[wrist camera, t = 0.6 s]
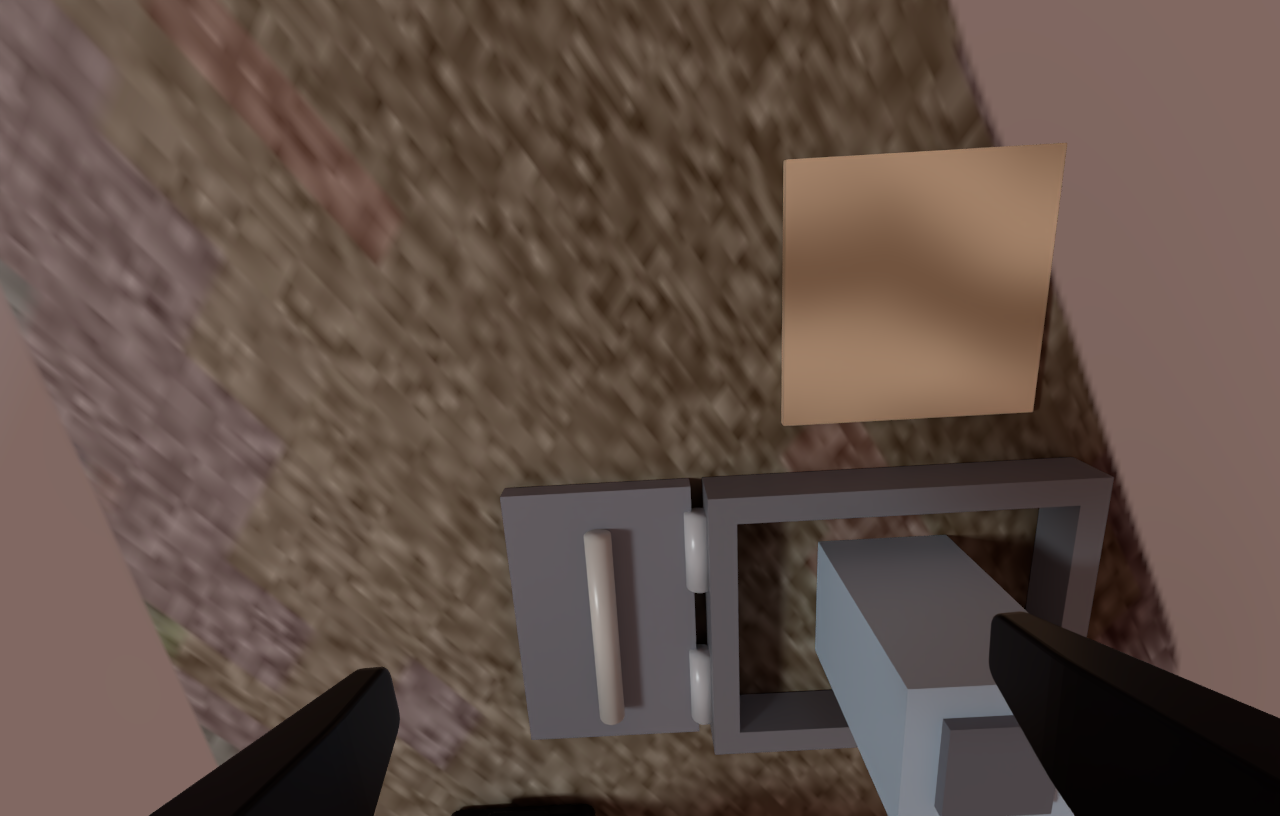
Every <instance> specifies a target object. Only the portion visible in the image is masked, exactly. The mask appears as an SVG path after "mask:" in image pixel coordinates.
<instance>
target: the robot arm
mask: <svg viewBox="0 0 1280 816" xmlns="http://www.w3.org/2000/svg"><path fill="white" fill-rule="evenodd" d="M989 668H990V672H991V675H992V678H993V680H994V682H995V683H996V685H997V687H998V689H999V690H1000V692H1001V694H1002V696H1003V698H1004V699H1005V701H1006V703H1007V705H1008V706H1009V708H1010V710H1011V712H1012V714H1013V715H1014V717H1015V719H1016V721H1017V722H1018V724H1019V726H1020V728H1021V729H1022V731H1023V733H1024V735H1025V737H1026V738H1027V740H1028V742H1029V744H1030V745H1031V747H1032V749H1033V751H1034V753H1035V754H1036V756H1037V758H1038V760H1039V761H1040V763H1041V765H1042V767H1043V768H1044V770H1045V772H1046V773H1047V775H1048V777H1049V778H1050V780H1051V782H1052V783H1053V785H1054V786H1055V788H1056V789H1057V791H1058V792H1059V794H1060V795H1061V797H1062V798H1063V800H1064V801H1065V803H1066V804H1067V805H1068V807H1069V808H1070V810H1071V811H1072V813H1073V814H1074V816H1280V718H1278V717H1275V716H1273V715H1271V714H1268V713H1266V712H1263V711H1261V710H1258V709H1256V708H1254V707H1251V706H1249V705H1247V704H1244V703H1242V702H1239V701H1237V700H1235V699H1232V698H1230V697H1228V696H1225V695H1223V694H1220V693H1218V692H1215V691H1213V690H1211V689H1208V688H1206V687H1203V686H1201V685H1199V684H1196V683H1194V682H1192V681H1189V680H1187V679H1184V678H1182V677H1180V676H1177V675H1175V674H1173V673H1170V672H1168V671H1165V670H1163V669H1161V668H1158V667H1156V666H1153V665H1151V664H1149V663H1146V662H1144V661H1141V660H1139V659H1137V658H1134V657H1132V656H1129V655H1127V654H1125V653H1122V652H1120V651H1118V650H1115V649H1113V648H1110V647H1108V646H1106V645H1103V644H1101V643H1098V642H1096V641H1094V640H1091V639H1089V638H1086V637H1084V636H1082V635H1079V634H1077V633H1075V632H1072V631H1070V630H1067V629H1065V628H1063V627H1060V626H1058V625H1055V624H1053V623H1051V622H1048V621H1046V620H1043V619H1041V618H1039V617H1036V616H1034V615H1031V614H1029V613H1026V612H1021V611H1019V612H1008V613H998V614H996V615H995V616H994V617H993V619H992V621H991V631H990V645H989ZM399 721H400V715H399V709H398V704H397V700H396V696H395V691H394V687H393V683H392V678H391V675H390V672H389V671H388V669H386V668H384V667H374V668H363V669H358V670H356V671H355V672H353V673H352V674H350V675H349V676H347V677H346V678H345V679H343V680H342V681H340V682H339V683H337V684H336V685H335V686H333V687H332V688H330V689H329V690H327V691H326V692H325V693H323V694H322V695H320V696H319V697H317V698H316V699H315V700H313V701H312V702H310V703H309V704H307V705H306V706H305V707H303V708H302V709H300V710H299V711H297V712H296V713H295V714H293V715H292V716H290V717H289V718H287V719H286V720H285V721H283V722H282V723H280V724H279V725H277V726H276V727H275V728H273V729H272V730H270V731H269V732H267V733H266V734H265V735H263V736H262V737H260V738H259V739H257V740H256V741H255V742H253V743H252V744H250V745H249V746H247V747H246V748H245V749H243V750H242V751H240V752H239V753H237V754H236V755H235V756H233V757H232V758H230V759H229V760H227V761H226V762H225V763H223V764H222V765H220V766H219V767H217V768H216V769H215V770H213V771H212V772H210V773H209V774H207V775H206V776H205V777H203V778H202V779H200V780H199V781H197V782H196V783H195V784H193V785H192V786H190V787H189V788H187V789H186V790H185V791H183V792H182V793H180V794H179V795H177V796H176V797H175V798H173V799H172V800H170V801H169V802H167V803H166V804H165V805H163V806H162V807H160V808H159V809H158V810H156V811H155V812H153V813H152V814H150V815H149V816H374V812H375V809H376V805H377V802H378V799H379V795H380V792H381V788H382V785H383V781H384V778H385V774H386V771H387V767H388V764H389V761H390V757H391V754H392V750H393V747H394V743H395V740H396V736H397V733H398V729H399ZM451 816H595V810H594V809H593V808H592V807H591V806H589V805H587V804H576V805H556V806H536V807H516V808H496V809H477V810H459V811H456V812H454V813H453V814H452V815H451Z"/></svg>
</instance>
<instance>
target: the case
mask: <svg viewBox="0 0 1280 816" xmlns="http://www.w3.org/2000/svg"><path fill="white" fill-rule="evenodd" d="M1113 481H1114V477H1112V476H1110V475H1108V474H1106V473H1104V472H1102V471H1100V470H1098V469H1096V468H1094V467H1092V466H1090V465H1088V464H1086V463H1084V462H1082V461H1080V460H1078V459H1076V458H1074V457H1065V458H1047V459H1028V460H1010V461H992V462H974V463H956V464H938V465H920V466H901V467H883V468H865V469H847V470H829V471H811V472H793V473H775V474H756V475H738V476H720V477H702V502H703V508H691V488H690V482H689V478H684V479H666V480H648V481H629V482H611V483H593V484H575V485H557V486H539V487H521V488H505V489H504V490H503V492H502V494H501V496H500V501H501V509H502V516H503V524H504V532H505V539H506V547H507V555H508V562H509V570H510V578H511V585H512V593H513V601H514V608H515V616H516V624H517V631H518V639H519V647H520V654H521V662H522V670H523V677H524V685H525V693H526V700H527V708H528V716H529V723H530V731H531V739H532V740H538V739H557V738H577V737H596V736H616V735H635V734H655V733H674V732H694V731H699V724H704V725H705V724H710V725H711V732H712V738H713V745H714V751H715V755H717V754H737V753H756V752H776V751H795V750H815V749H835V748H854V747H858V746H857V744H856V742H855V739H854V737H853V735H852V733H851V730H850V728H849V726H848V723H847V721H846V719H845V717H844V714H843V712H842V710H841V707H840V705H839V703H838V701H837V698H836V696H835V694H834V692H833V690H823V691H804V692H785V693H766V694H746V695H739V626H738V552H737V524H751V523H769V522H787V521H806V520H824V519H843V518H861V517H879V516H898V515H916V514H934V513H953V512H971V511H990V510H1008V509H1026V508H1039V515H1038V522H1037V530H1036V537H1035V544H1034V552H1033V559H1032V566H1031V574H1030V581H1029V588H1028V596H1027V603H1026V611H1027V612H1028V613H1029V614H1031V615H1034V616H1036V617H1039V618H1041V619H1043V620H1046V621H1048V622H1051V623H1053V624H1055V625H1058V626H1060V627H1063V628H1065V629H1067V630H1070V631H1072V632H1075V633H1077V634H1079V635H1082V636H1084V637H1086V638H1087V632H1088V627H1089V621H1090V615H1091V609H1092V603H1093V597H1094V591H1095V586H1096V580H1097V574H1098V568H1099V562H1100V556H1101V551H1102V545H1103V539H1104V533H1105V527H1106V521H1107V516H1108V510H1109V504H1110V498H1111V492H1112V486H1113ZM694 592H695V593H705V600H706V633H707V645H705V644H698V645H696V626H695V598H694Z"/></svg>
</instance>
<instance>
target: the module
mask: <svg viewBox="0 0 1280 816" xmlns="http://www.w3.org/2000/svg"><path fill="white" fill-rule="evenodd" d="M1019 611H1021V612H1026V613H1028V612H1027V611H1026V610H1025V609H1024V608H1023V607H1022V606H1021V605H1020V604H1019V603H1017V602H1016V601H1015V600H1014V599H1013V598H1012V597H1011V596H1010V595H1009V594H1008V593H1007V592H1006V591H1005V590H1004V589H1003V588H1002V587H1001V586H1000V585H998V584H997V583H996V582H995V581H994V580H993V579H992V578H991V577H990V576H989V575H988V574H987V573H986V572H985V571H984V570H983V569H982V568H980V567H979V566H978V565H977V564H976V563H975V562H974V561H973V560H972V559H971V558H970V557H969V556H968V555H967V554H966V553H965V552H964V551H963V550H961V549H960V548H959V547H958V546H957V545H956V544H955V543H954V542H953V541H952V540H951V539H950V538H949V537H948V536H947V535H933V536H914V537H896V538H877V539H859V540H840V541H822V542H818V570H817V606H816V643H815V650H816V653H817V655H818V657H819V660H820V662H821V664H822V666H823V669H824V671H825V673H826V676H827V678H828V680H829V682H830V685H831V687H832V689H833V692H834V694H835V696H836V698H837V701H838V703H839V705H840V707H841V710H842V712H843V714H844V717H845V719H846V721H847V723H848V726H849V728H850V730H851V733H852V735H853V737H854V739H855V742H856V744H857V746H858V749H859V751H860V753H861V755H862V758H863V760H864V762H865V764H866V767H867V769H868V771H869V774H870V776H871V778H872V780H873V783H874V785H875V787H876V790H877V792H878V794H879V796H880V799H881V801H882V803H883V805H884V808H885V810H886V812H887V815H888V816H1074V814H1073V813H1072V811H1071V810H1070V808H1069V807H1068V805H1067V804H1066V803H1065V801H1064V800H1063V798H1062V797H1061V795H1060V794H1059V792H1058V791H1057V789H1056V788H1055V786H1054V785H1053V783H1052V782H1051V780H1050V778H1049V777H1048V775H1047V773H1046V772H1045V770H1044V768H1043V767H1042V765H1041V763H1040V761H1039V760H1038V758H1037V756H1036V754H1035V753H1034V751H1033V749H1032V747H1031V745H1030V744H1029V742H1028V740H1027V738H1026V737H1025V735H1024V733H1023V731H1022V729H1021V728H1020V726H1019V724H1018V722H1017V721H1016V719H1015V717H1014V715H1013V714H1012V712H1011V710H1010V708H1009V706H1008V705H1007V703H1006V701H1005V699H1004V698H1003V696H1002V694H1001V692H1000V690H999V689H998V687H997V685H996V683H995V682H994V680H993V678H992V675H991V672H990V668H989V645H990V631H991V621H992V619H993V617H994V616H995V615H996V614H998V613H1008V612H1019Z"/></svg>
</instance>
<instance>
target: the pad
mask: <svg viewBox="0 0 1280 816" xmlns="http://www.w3.org/2000/svg"><path fill="white" fill-rule="evenodd" d="M1066 149H1067V143H1057V144H1040V145H1023V146H1006V147H990V148H973V149H956V150H939V151H923V152H906V153H889V154H873V155H856V156H839V157H822V158H806V159H789V160H785V161H784V163H783V284H782V406H781V423H782V424H783V425H784V426H792V425H810V424H828V423H846V422H864V421H882V420H900V419H918V418H935V417H953V416H971V415H989V414H1007V413H1025V412H1033V408H1034V400H1035V392H1036V384H1037V376H1038V368H1039V361H1040V353H1041V345H1042V337H1043V329H1044V321H1045V314H1046V306H1047V298H1048V290H1049V282H1050V274H1051V267H1052V258H1053V250H1054V242H1055V235H1056V227H1057V219H1058V212H1059V204H1060V196H1061V188H1062V180H1063V172H1064V164H1065V157H1066Z"/></svg>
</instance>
